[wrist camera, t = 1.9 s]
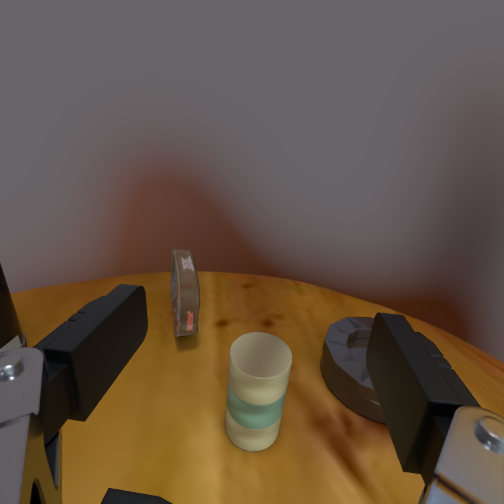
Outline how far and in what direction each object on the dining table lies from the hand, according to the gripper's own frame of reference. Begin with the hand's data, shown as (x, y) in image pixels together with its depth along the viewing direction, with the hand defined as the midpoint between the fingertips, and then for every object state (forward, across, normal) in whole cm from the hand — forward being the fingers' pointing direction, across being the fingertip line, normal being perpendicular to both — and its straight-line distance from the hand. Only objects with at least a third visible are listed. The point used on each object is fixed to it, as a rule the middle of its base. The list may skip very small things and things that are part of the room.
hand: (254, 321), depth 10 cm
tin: (+27, +12, +18) cm, 34 cm away
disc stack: (+12, 0, +19) cm, 23 cm away
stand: (+20, -13, +19) cm, 31 cm away
